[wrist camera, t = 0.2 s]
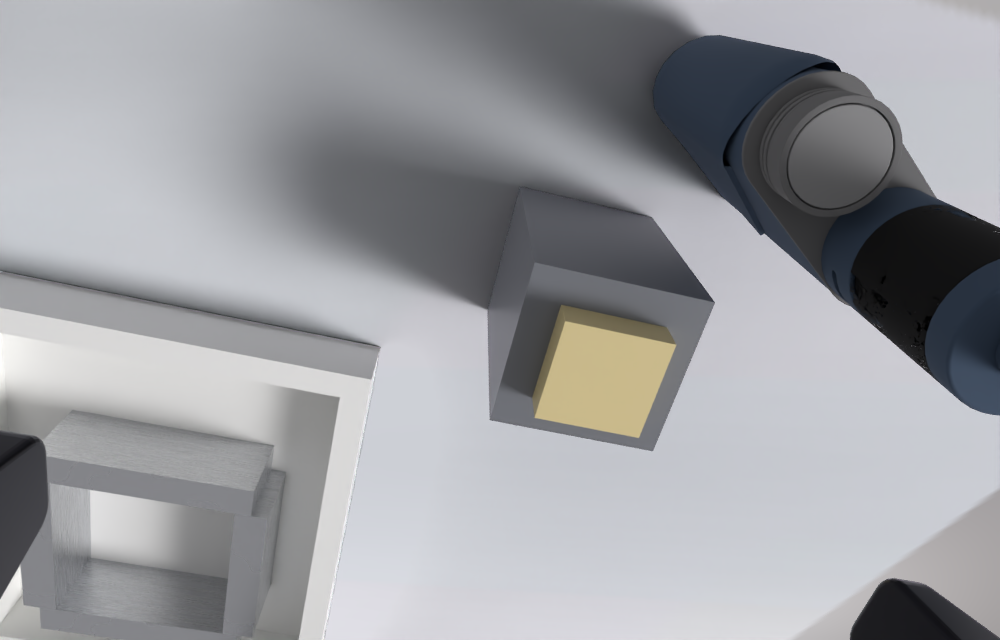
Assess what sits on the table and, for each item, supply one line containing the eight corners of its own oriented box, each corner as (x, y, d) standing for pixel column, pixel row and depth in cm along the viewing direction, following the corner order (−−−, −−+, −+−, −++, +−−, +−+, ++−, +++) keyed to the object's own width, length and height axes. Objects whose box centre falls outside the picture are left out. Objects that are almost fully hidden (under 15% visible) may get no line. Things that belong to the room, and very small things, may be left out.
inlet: (267, 603, 26) (249, 657, 24) (62, 573, 25) (24, 626, 23) (289, 448, 23) (270, 494, 21) (56, 406, 22) (11, 450, 20)
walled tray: (322, 647, 28) (311, 692, 26) (4, 601, 26) (-31, 647, 24) (380, 347, 22) (371, 379, 20) (-26, 265, 20) (-75, 293, 18)
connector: (610, 335, 22) (660, 472, 16) (487, 309, 21) (490, 440, 15) (651, 217, 20) (726, 319, 14) (519, 186, 20) (537, 277, 13)
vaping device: (735, 222, 20) (1028, 494, 9) (628, 82, 18) (838, 218, 8) (811, 163, 19) (1223, 384, 9) (708, 11, 18) (1067, 52, 7)
